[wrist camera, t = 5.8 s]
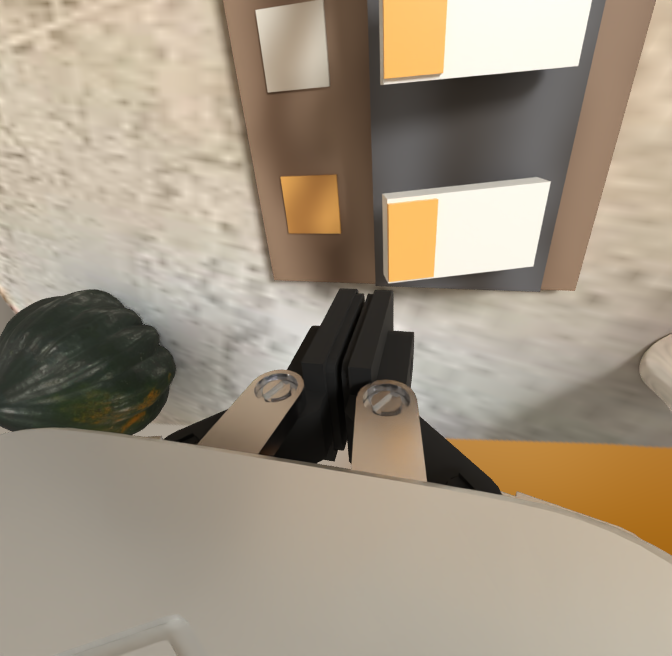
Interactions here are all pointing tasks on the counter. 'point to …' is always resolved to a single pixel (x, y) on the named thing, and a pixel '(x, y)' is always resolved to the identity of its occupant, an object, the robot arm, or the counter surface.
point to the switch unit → (419, 136)
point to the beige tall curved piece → (659, 369)
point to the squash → (82, 366)
